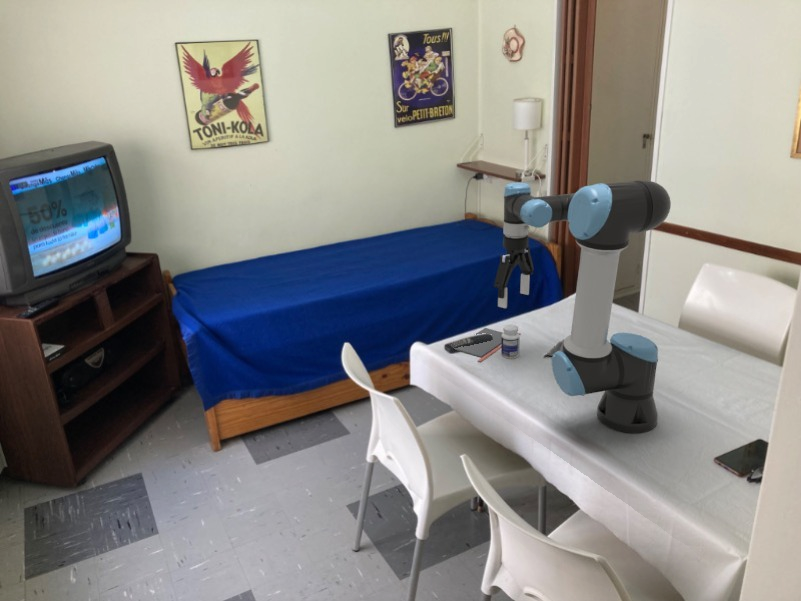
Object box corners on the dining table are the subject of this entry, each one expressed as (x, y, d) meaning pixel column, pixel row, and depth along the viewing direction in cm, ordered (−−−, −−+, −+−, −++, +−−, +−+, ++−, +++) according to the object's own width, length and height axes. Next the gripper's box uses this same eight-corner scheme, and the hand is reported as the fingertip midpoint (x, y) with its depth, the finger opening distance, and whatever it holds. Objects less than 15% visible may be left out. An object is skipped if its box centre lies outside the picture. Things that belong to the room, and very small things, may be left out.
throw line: (480, 362, 205) (480, 361, 205) (477, 361, 205) (477, 360, 205) (520, 334, 223) (520, 333, 223) (518, 333, 224) (518, 332, 224)
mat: (481, 357, 208) (481, 356, 208) (453, 349, 214) (453, 348, 214) (512, 336, 222) (512, 335, 222) (485, 329, 229) (485, 327, 228)
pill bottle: (505, 350, 213) (505, 322, 209) (521, 353, 210) (522, 325, 206) (498, 357, 208) (498, 328, 204) (515, 360, 205) (515, 332, 202)
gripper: (505, 247, 183) (503, 315, 191) (546, 227, 201) (543, 290, 209) (482, 243, 188) (481, 310, 196) (525, 223, 205) (522, 286, 213)
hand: (513, 300), depth 202 cm, fingers open, 13 cm apart
